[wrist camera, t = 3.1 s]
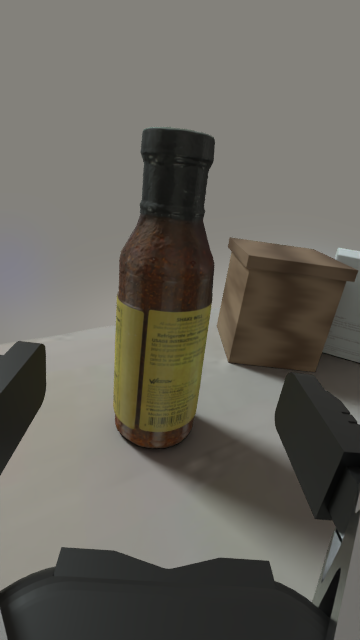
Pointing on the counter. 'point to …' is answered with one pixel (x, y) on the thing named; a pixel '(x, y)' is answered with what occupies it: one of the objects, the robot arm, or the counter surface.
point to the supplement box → (346, 314)
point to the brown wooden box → (279, 304)
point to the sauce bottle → (164, 292)
